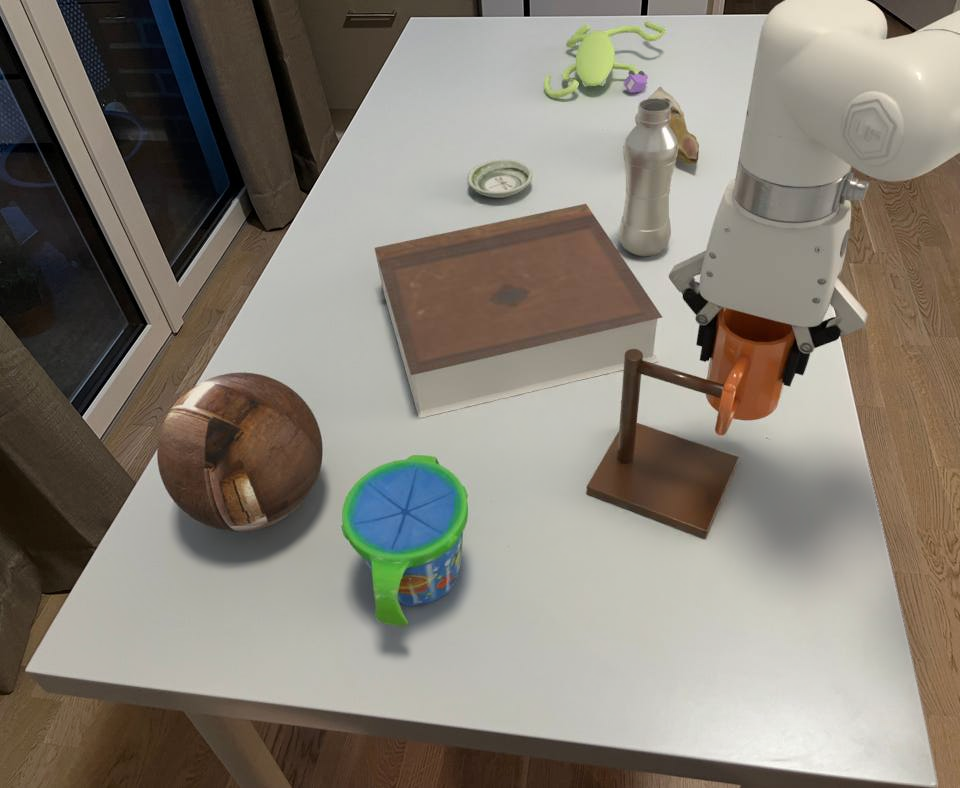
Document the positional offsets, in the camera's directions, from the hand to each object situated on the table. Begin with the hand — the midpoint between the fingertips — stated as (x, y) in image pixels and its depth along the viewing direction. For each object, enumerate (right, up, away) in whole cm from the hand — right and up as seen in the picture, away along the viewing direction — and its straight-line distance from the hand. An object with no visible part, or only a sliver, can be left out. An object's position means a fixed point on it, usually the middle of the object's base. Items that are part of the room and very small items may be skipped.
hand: (748, 362), depth 70 cm
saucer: (-21, +28, +50) cm, 61 cm away
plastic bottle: (-2, +17, +36) cm, 40 cm away
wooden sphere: (-46, -14, +11) cm, 49 cm away
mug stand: (-6, -11, +9) cm, 15 cm away
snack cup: (-29, -19, +3) cm, 35 cm away
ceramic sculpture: (+4, +35, +54) cm, 64 cm away
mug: (-1, -4, +2) cm, 5 cm away
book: (-20, +6, +27) cm, 34 cm away
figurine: (-1, +57, +76) cm, 95 cm away
